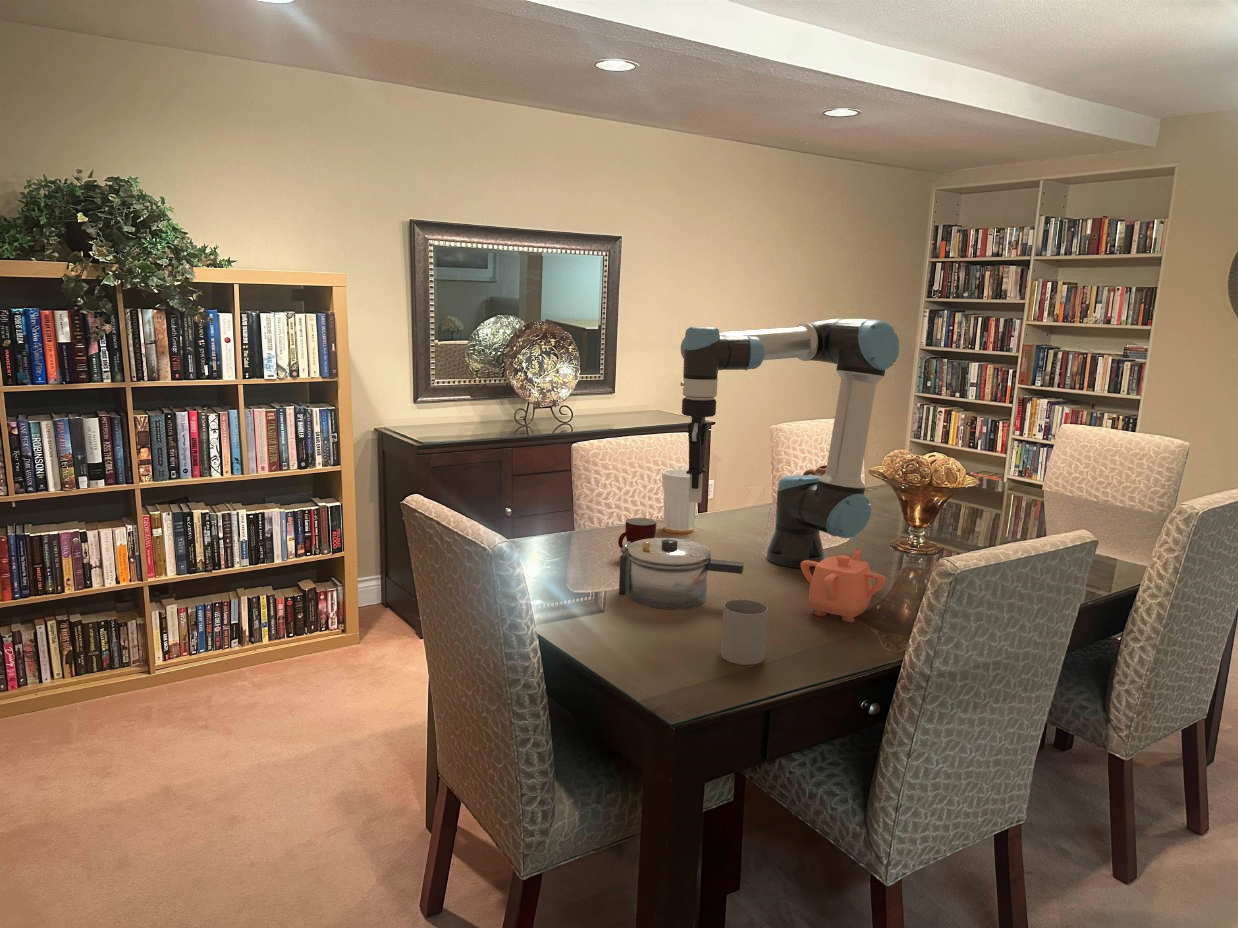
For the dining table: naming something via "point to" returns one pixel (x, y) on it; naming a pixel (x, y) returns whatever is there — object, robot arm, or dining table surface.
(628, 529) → the mug
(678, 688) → the dining table surface
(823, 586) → the teapot
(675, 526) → the cup
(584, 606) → the dining table surface
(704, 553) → the lid
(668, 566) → the pot
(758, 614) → the cup
